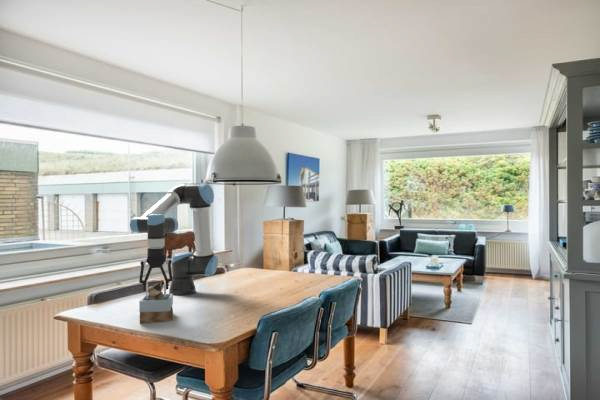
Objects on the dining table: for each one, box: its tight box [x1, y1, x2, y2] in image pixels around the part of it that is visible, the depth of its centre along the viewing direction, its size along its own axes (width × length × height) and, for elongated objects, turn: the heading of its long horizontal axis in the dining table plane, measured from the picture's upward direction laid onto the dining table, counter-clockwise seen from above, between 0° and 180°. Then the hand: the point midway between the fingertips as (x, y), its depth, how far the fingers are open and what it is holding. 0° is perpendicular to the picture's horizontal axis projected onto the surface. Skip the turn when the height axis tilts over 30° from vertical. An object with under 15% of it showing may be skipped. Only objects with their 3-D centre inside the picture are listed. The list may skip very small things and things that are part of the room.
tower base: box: [139, 306, 174, 325], centre depth 193 cm, size 14×14×5 cm
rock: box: [148, 279, 165, 300], centre depth 194 cm, size 9×7×10 cm
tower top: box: [138, 293, 174, 314], centre depth 193 cm, size 13×13×5 cm
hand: (156, 297), depth 193 cm, fingers closed on rock, 7 cm apart
